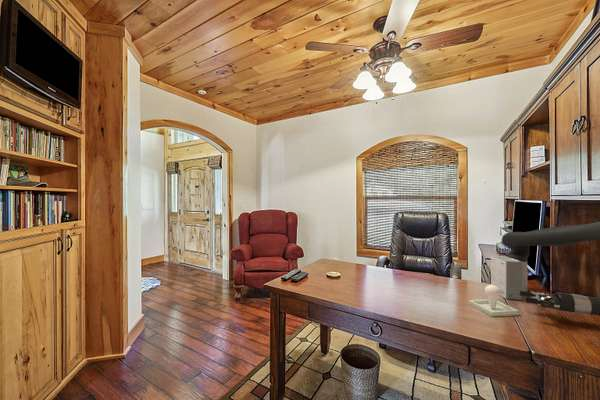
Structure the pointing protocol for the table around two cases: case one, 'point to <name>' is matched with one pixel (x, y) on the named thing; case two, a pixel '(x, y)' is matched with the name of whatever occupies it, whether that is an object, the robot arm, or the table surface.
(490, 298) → the lightbulb
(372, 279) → the table surface
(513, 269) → the hard drive box
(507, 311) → the tray
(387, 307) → the table surface
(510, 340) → the table surface
